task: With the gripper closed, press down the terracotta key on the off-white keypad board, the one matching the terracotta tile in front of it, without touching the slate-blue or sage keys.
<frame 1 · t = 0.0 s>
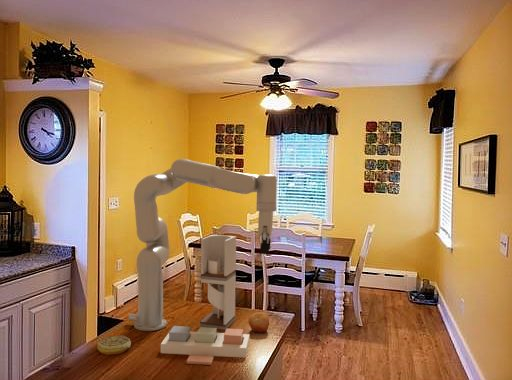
hand: (265, 251, 164), 31 cm above the kitchen island, tool pointing down, fingers open, 9 cm apart
key terracotta: (233, 336, 148), point 4 cm above the kitchen island, slide at 0.0 cm
key sage: (206, 335, 149), point 4 cm above the kitchen island, slide at 0.0 cm
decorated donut: (114, 350, 147), on the kitchen island
key slate blue: (179, 333, 150), point 4 cm above the kitchen island, slide at 0.0 cm
prompt tile: (200, 360, 139), on the kitchen island
tiered shelf stand: (218, 323, 173), on the kitchen island
keypad board: (206, 347, 149), on the kitchen island
fruit: (258, 331, 166), on the kitchen island
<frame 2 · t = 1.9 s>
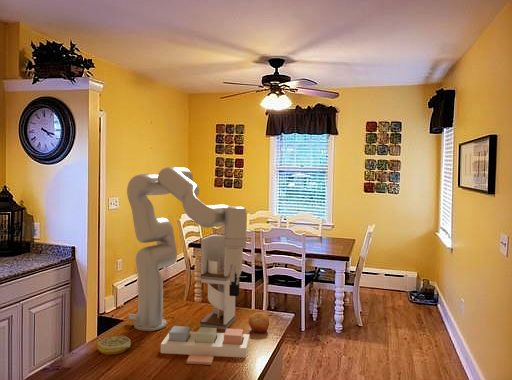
hand: (234, 295, 147), 19 cm above the kitchen island, tool pointing down, fingers closed
nothing on the kitchen island moved.
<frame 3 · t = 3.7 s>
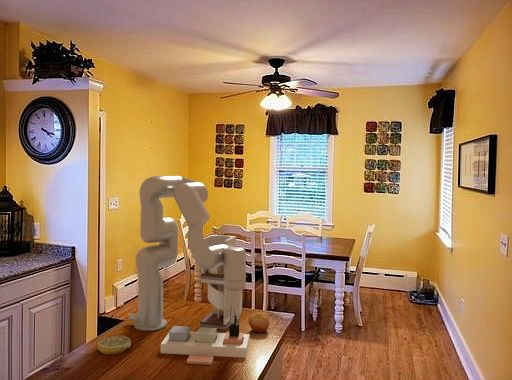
hand: (234, 335, 148), 5 cm above the kitchen island, tool pointing down, fingers closed
key terracotta: (233, 340, 148), point 3 cm above the kitchen island, slide at 1.2 cm, touching gripper
everything else where it was.
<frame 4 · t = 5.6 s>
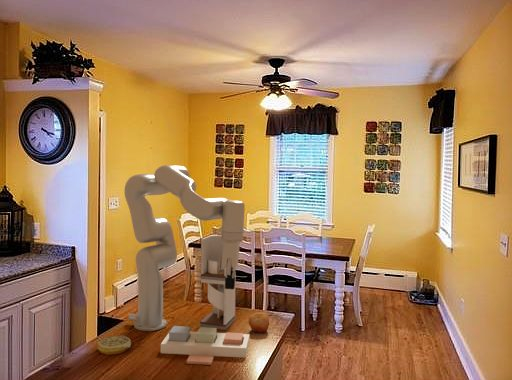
hand: (229, 288, 148), 21 cm above the kitchen island, tool pointing down, fingers closed
key terracotta: (233, 340, 148), point 3 cm above the kitchen island, slide at 1.4 cm
everything else where it was.
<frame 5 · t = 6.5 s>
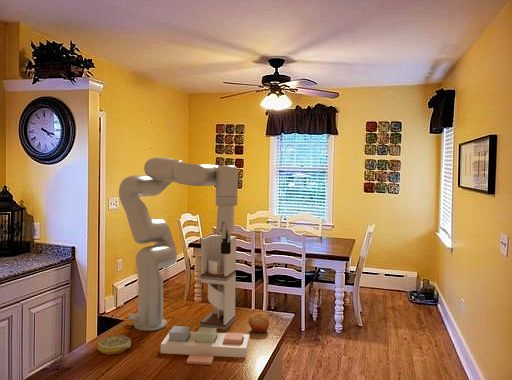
hand: (225, 253, 149), 33 cm above the kitchen island, tool pointing down, fingers closed
nothing on the kitchen island moved.
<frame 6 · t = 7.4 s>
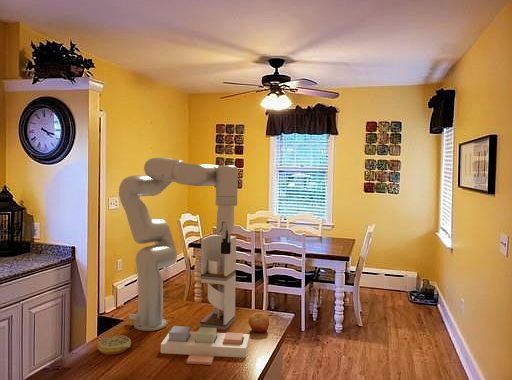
hand: (225, 253, 149), 33 cm above the kitchen island, tool pointing down, fingers closed
nothing on the kitchen island moved.
at the end: key terracotta slide at 1.4 cm; key sage slide at 0.0 cm; key slate blue slide at 0.0 cm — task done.
